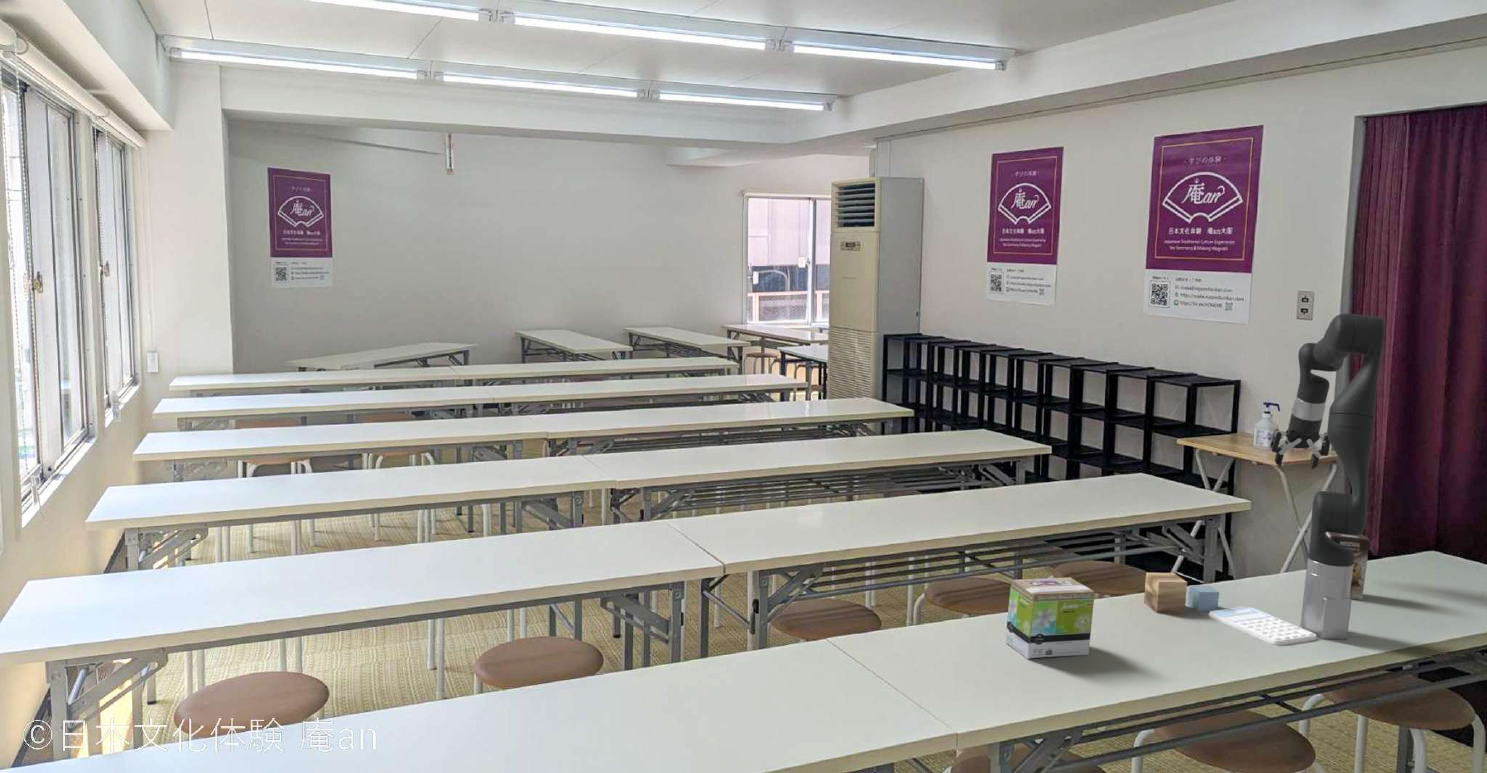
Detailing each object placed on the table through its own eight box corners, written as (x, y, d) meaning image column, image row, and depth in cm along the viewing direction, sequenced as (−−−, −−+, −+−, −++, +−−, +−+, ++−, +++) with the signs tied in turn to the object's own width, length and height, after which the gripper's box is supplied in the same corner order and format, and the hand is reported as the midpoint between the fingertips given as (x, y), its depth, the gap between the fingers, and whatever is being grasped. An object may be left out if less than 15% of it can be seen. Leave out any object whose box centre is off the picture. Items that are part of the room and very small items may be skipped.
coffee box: (1323, 595, 267) (1330, 535, 265) (1317, 588, 274) (1324, 529, 271) (1363, 600, 265) (1370, 539, 263) (1356, 592, 271) (1363, 533, 269)
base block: (1184, 613, 251) (1186, 598, 250) (1156, 613, 251) (1158, 597, 250) (1170, 603, 258) (1172, 588, 257) (1143, 603, 257) (1145, 588, 257)
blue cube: (1217, 611, 253) (1219, 592, 252) (1197, 611, 253) (1199, 591, 252) (1206, 604, 258) (1208, 585, 257) (1187, 604, 258) (1189, 585, 257)
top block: (1185, 598, 251) (1187, 582, 250) (1157, 597, 250) (1159, 581, 250) (1172, 588, 257) (1173, 573, 257) (1144, 587, 257) (1146, 572, 256)
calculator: (1275, 648, 232) (1276, 640, 231) (1206, 617, 250) (1207, 609, 250) (1318, 641, 236) (1319, 633, 236) (1247, 611, 255) (1248, 604, 255)
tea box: (1028, 660, 218) (1033, 593, 216) (1004, 643, 228) (1009, 578, 226) (1090, 655, 222) (1096, 589, 220) (1064, 638, 232) (1069, 574, 230)
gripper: (1283, 417, 276) (1271, 470, 283) (1340, 421, 273) (1327, 475, 280) (1275, 405, 283) (1263, 458, 289) (1331, 409, 280) (1318, 462, 287)
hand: (1295, 466), depth 285 cm, fingers open, 8 cm apart
